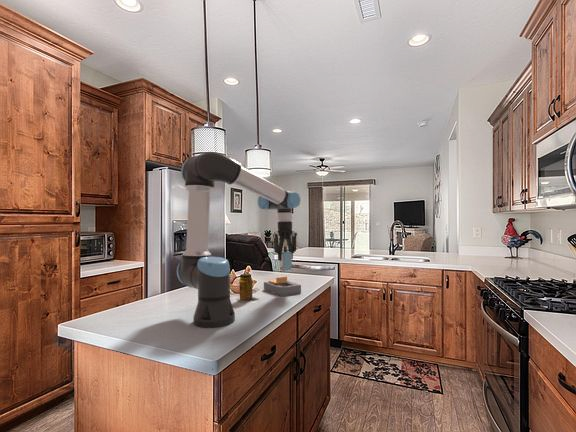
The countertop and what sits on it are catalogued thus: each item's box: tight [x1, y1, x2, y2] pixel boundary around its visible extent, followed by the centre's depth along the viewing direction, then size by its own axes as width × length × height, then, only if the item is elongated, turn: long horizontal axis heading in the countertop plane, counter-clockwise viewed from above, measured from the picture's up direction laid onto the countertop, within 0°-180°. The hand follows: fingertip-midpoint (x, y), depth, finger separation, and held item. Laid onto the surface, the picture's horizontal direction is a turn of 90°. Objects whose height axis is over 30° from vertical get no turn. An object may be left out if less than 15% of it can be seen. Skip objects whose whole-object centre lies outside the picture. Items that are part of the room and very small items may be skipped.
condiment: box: [236, 273, 259, 303], centre depth 148 cm, size 7×8×12 cm
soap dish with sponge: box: [263, 281, 302, 297], centre depth 164 cm, size 18×12×4 cm, turn 32°
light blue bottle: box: [279, 245, 293, 271], centre depth 161 cm, size 4×4×12 cm
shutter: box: [268, 275, 290, 284], centre depth 167 cm, size 8×8×3 cm
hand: (285, 266), depth 161 cm, fingers closed on light blue bottle, 4 cm apart
